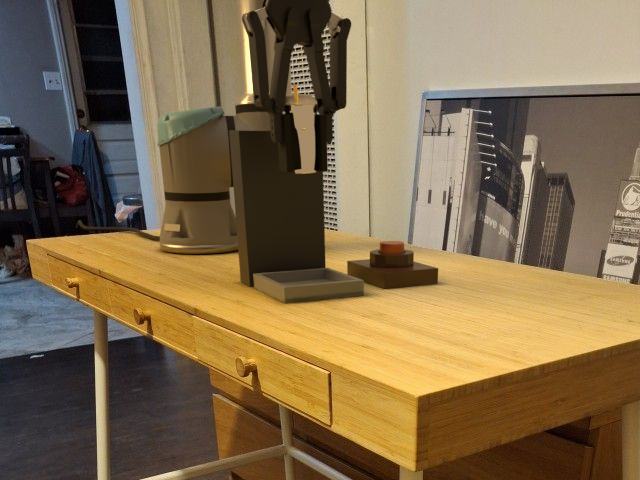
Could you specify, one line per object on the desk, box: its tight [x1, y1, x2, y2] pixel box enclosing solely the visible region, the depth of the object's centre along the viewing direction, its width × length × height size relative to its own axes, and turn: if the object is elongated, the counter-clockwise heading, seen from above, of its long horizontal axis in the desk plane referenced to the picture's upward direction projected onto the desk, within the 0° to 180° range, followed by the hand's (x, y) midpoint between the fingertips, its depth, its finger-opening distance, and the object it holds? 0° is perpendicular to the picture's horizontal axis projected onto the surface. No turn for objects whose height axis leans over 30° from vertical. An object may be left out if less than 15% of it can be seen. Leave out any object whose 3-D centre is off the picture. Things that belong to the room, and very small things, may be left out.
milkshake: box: [283, 83, 318, 174], centre depth 96 cm, size 4×5×10 cm
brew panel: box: [346, 248, 439, 290], centre depth 113 cm, size 12×9×4 cm
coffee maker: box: [229, 130, 365, 304], centre depth 103 cm, size 17×12×20 cm
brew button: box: [379, 240, 405, 254], centre depth 112 cm, size 4×4×2 cm
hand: (303, 170), depth 98 cm, fingers closed on milkshake, 4 cm apart
